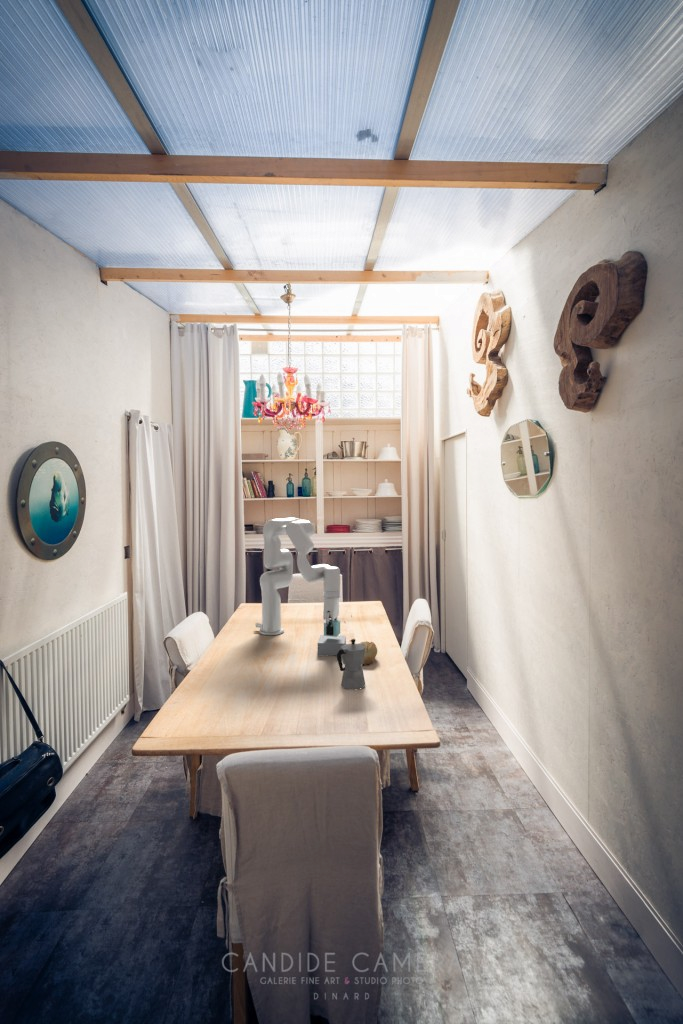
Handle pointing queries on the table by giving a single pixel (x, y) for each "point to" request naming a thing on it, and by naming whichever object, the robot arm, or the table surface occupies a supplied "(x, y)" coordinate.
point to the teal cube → (335, 628)
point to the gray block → (330, 644)
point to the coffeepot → (352, 665)
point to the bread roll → (369, 652)
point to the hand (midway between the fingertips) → (332, 632)
